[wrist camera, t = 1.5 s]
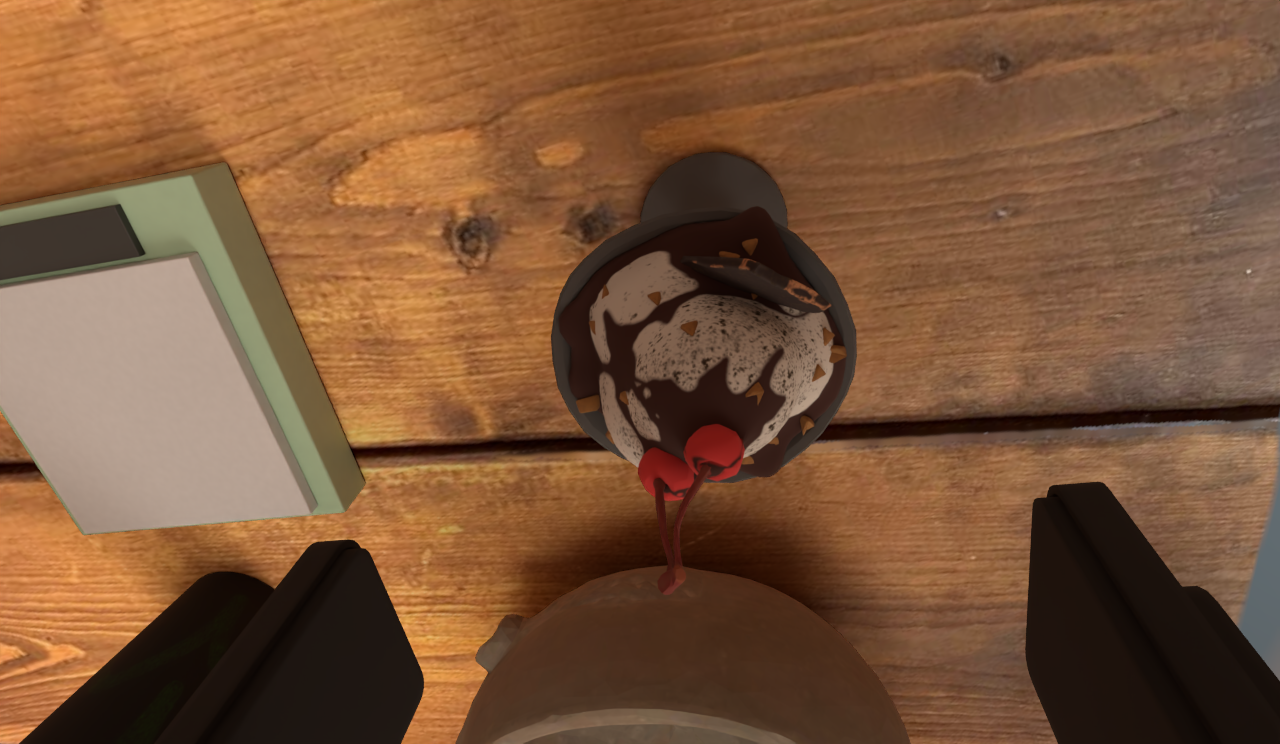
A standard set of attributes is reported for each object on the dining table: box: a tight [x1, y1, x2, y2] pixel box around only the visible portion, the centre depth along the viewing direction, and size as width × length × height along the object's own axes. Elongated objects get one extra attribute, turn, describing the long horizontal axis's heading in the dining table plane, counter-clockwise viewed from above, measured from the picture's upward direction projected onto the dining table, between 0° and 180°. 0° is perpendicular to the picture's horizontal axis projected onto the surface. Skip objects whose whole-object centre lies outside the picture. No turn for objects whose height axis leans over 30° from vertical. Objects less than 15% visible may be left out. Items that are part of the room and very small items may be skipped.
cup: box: [19, 572, 274, 744], centre depth 32 cm, size 8×8×12 cm
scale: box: [0, 162, 365, 535], centre depth 29 cm, size 14×13×3 cm
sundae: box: [551, 152, 857, 595], centre depth 18 cm, size 7×7×15 cm
